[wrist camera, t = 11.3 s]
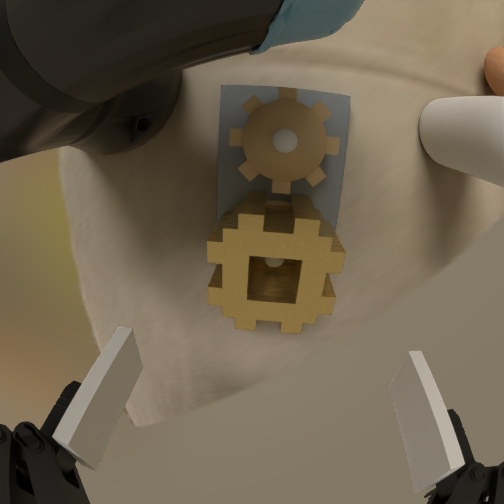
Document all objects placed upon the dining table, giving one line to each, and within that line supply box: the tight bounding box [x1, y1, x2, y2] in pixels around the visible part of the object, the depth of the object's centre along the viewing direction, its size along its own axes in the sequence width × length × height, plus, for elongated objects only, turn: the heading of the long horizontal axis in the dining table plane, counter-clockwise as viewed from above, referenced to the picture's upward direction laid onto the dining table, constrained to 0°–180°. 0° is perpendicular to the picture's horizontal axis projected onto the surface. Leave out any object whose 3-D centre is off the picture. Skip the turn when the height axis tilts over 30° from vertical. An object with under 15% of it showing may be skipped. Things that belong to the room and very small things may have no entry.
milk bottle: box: [419, 96, 504, 187], centre depth 14 cm, size 8×8×20 cm
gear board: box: [217, 85, 350, 267], centre depth 24 cm, size 12×20×7 cm, turn 177°
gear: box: [207, 191, 345, 334], centre depth 25 cm, size 10×10×8 cm
